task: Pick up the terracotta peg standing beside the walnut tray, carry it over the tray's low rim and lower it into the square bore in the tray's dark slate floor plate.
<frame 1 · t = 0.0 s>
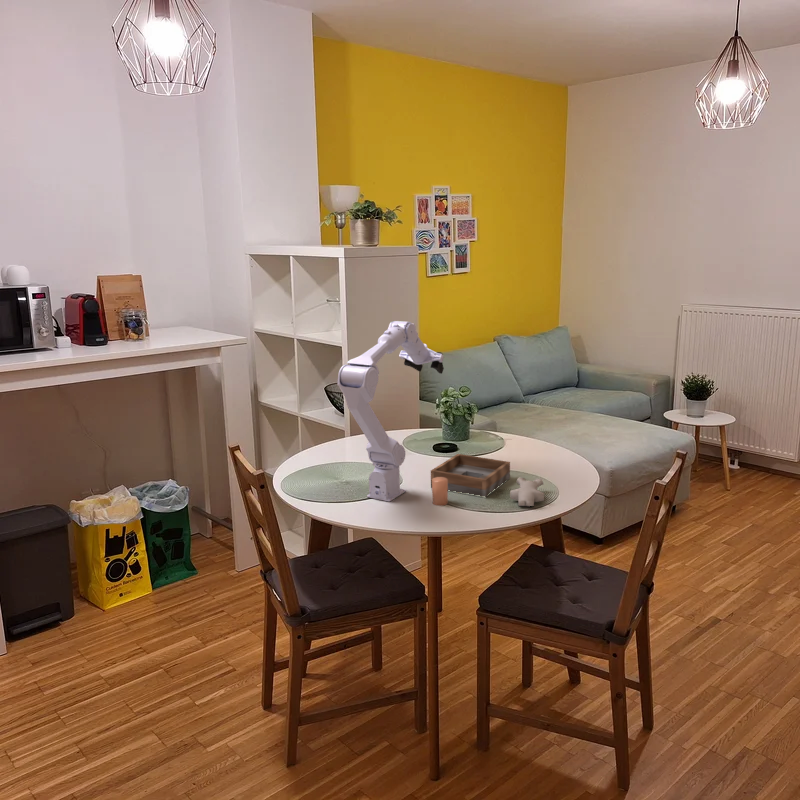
hand: (431, 369, 232), 32 cm above the table, tool tilted 50°, fingers open, 7 cm apart
peg: (440, 502, 209), on the table
white soft plush figure: (527, 500, 210), on the table
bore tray: (470, 483, 223), on the table
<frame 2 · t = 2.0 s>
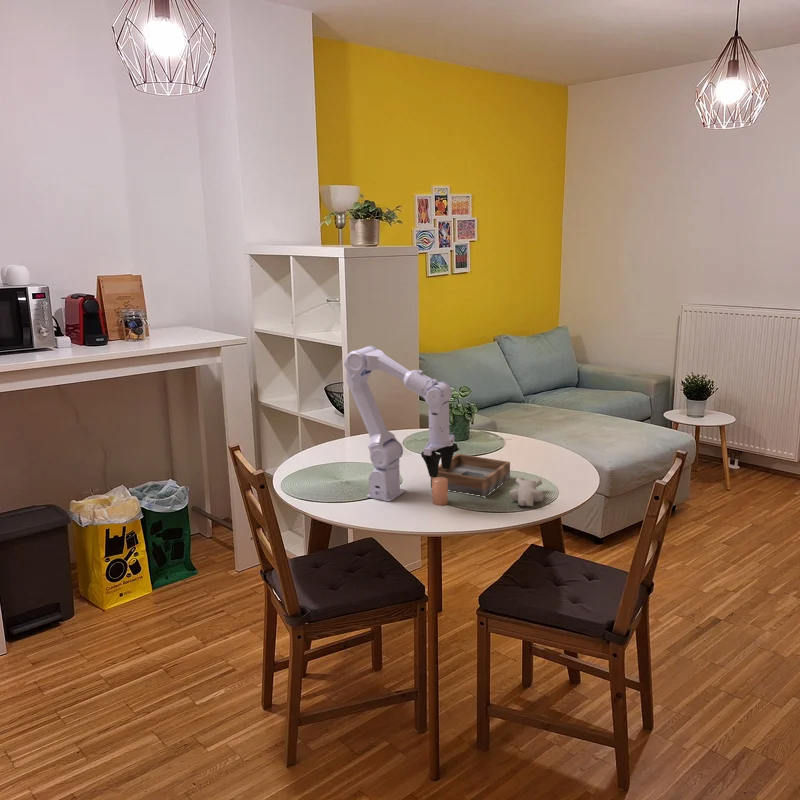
hand: (439, 472, 207), 9 cm above the table, tool pointing down, fingers open, 7 cm apart
nothing on the table moved.
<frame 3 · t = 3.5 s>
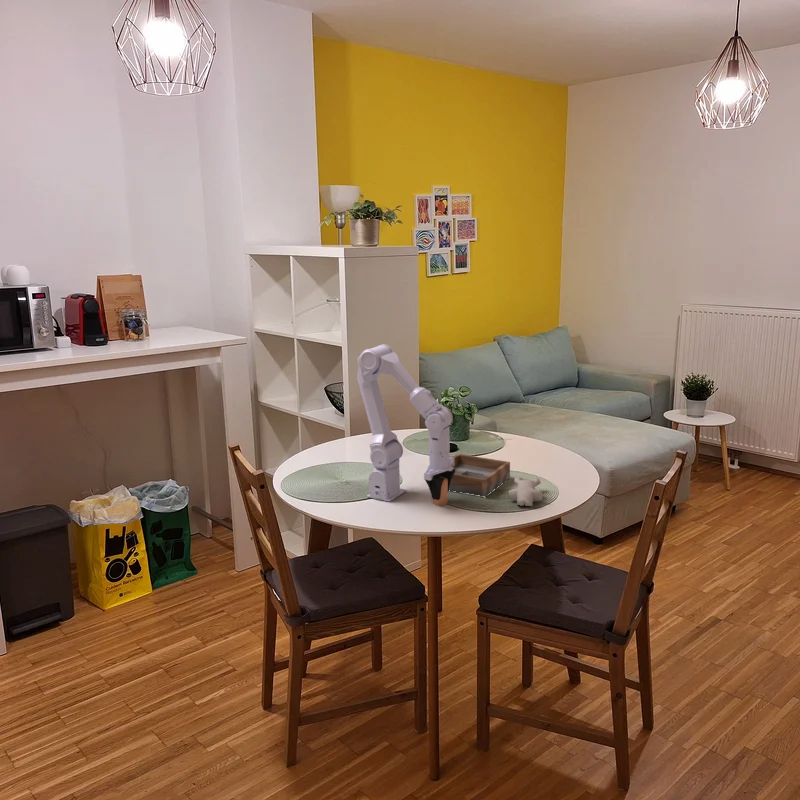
hand: (440, 496, 208), 2 cm above the table, tool pointing down, fingers closed on peg, 4 cm apart
peg: (440, 502, 209), on the table, touching gripper
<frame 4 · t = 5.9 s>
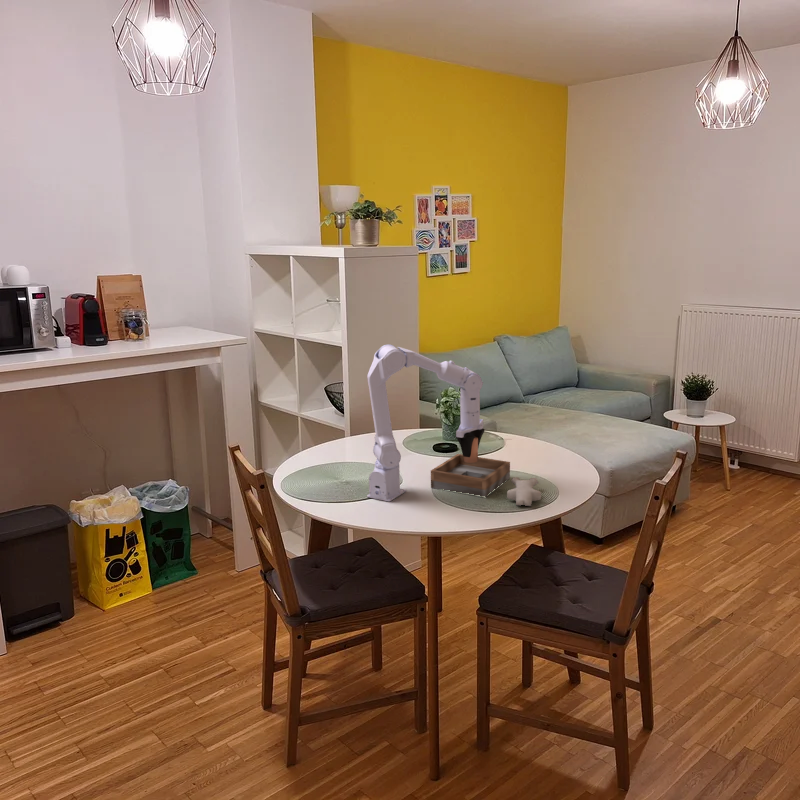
hand: (470, 454, 221), 9 cm above the table, tool pointing down, fingers closed on peg, 4 cm apart
peg: (470, 460, 221), point 7 cm above the table, touching gripper
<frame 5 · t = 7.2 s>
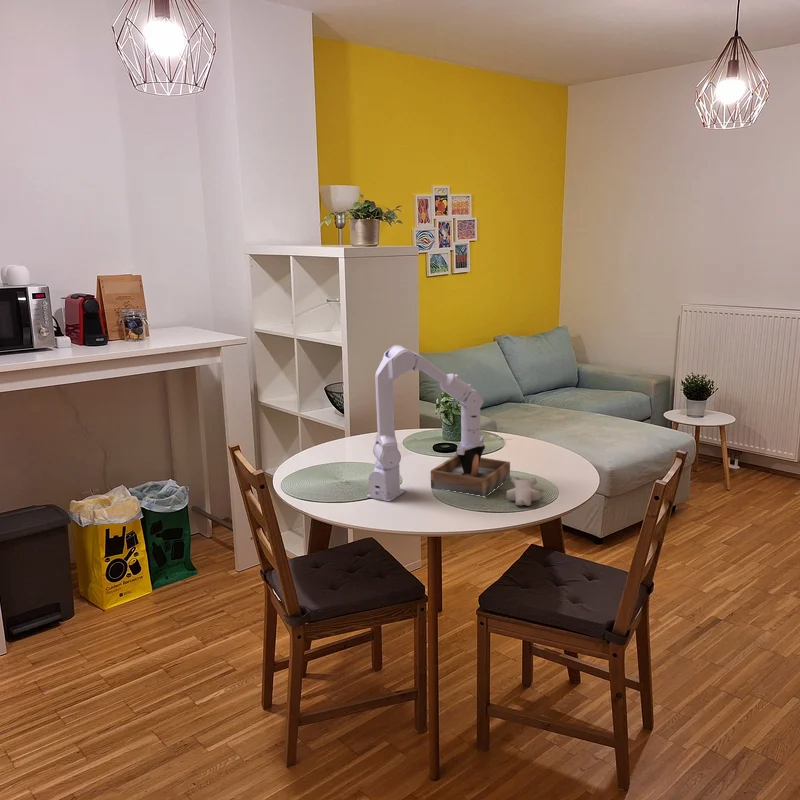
hand: (470, 470, 222), 4 cm above the table, tool pointing down, fingers closed on peg, 4 cm apart
peg: (471, 476, 223), point 2 cm above the table, touching gripper
when the fingers open (3 cm above the table, at t = 8.3 s): peg drops 1 cm, resting in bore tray.
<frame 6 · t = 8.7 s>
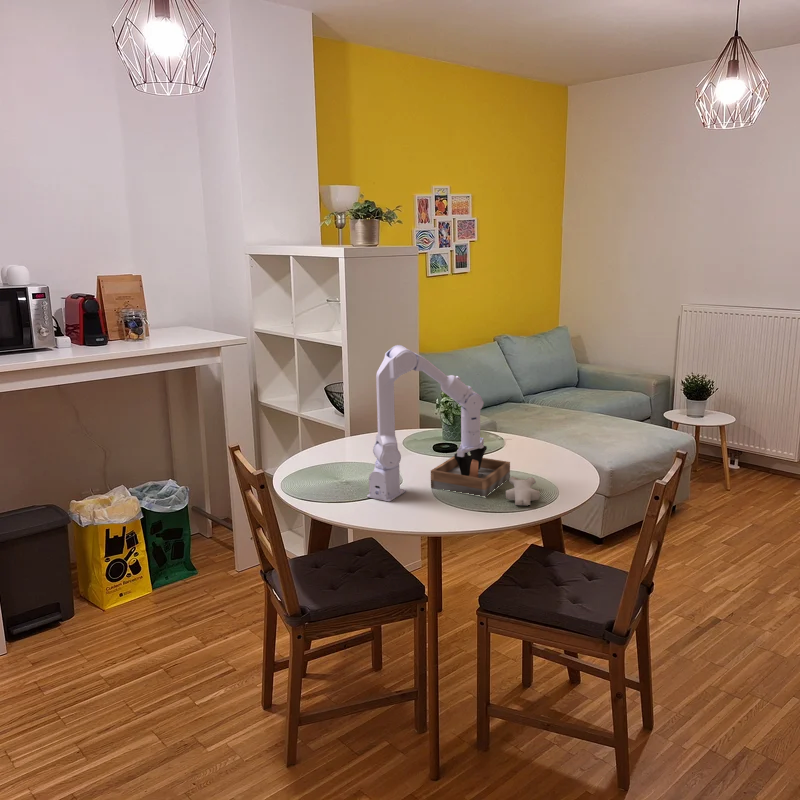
hand: (470, 472, 222), 3 cm above the table, tool pointing down, fingers open, 7 cm apart
peg: (471, 483, 223), resting in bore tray
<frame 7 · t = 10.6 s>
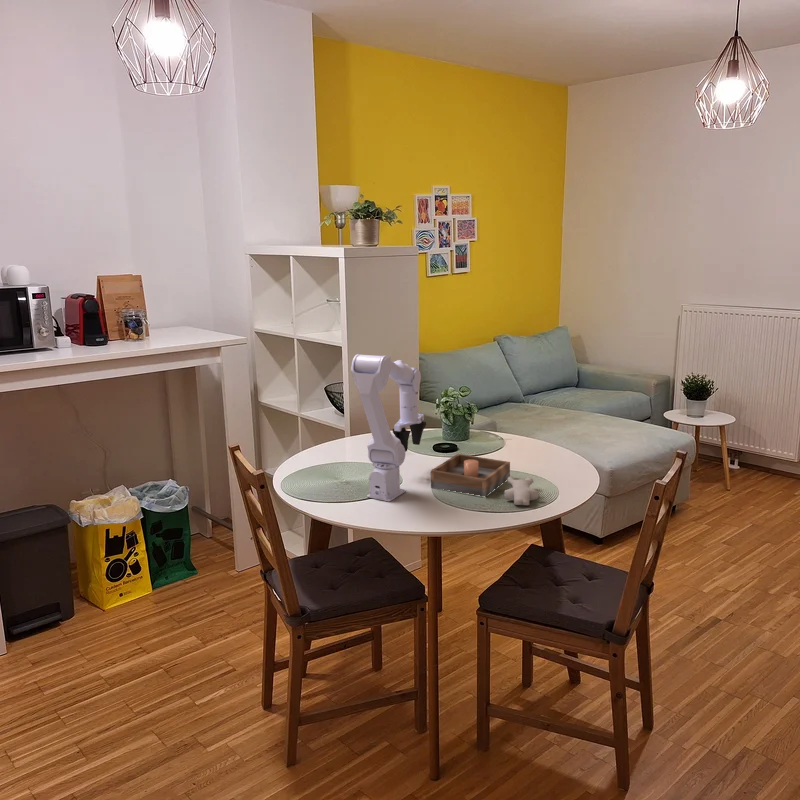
hand: (410, 447, 229), 9 cm above the table, tool pointing down, fingers open, 7 cm apart
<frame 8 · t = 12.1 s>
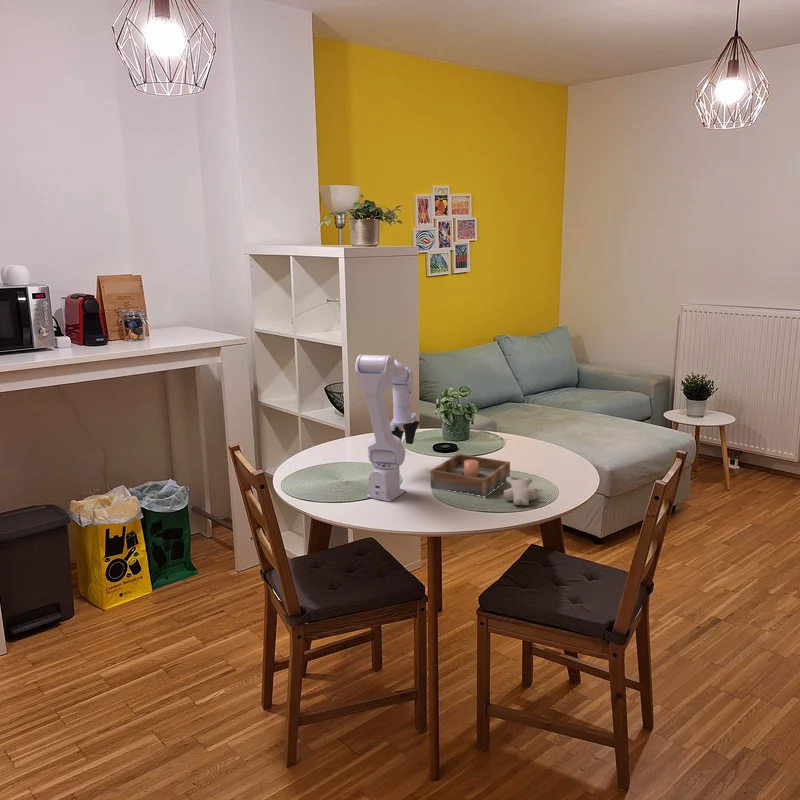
hand: (403, 446, 230), 9 cm above the table, tool pointing down, fingers open, 7 cm apart
at the end: peg 0.1 cm off-centre on the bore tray, point 0.0 cm above the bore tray's base; peg tilted 0°; the gripper is holding nothing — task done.
